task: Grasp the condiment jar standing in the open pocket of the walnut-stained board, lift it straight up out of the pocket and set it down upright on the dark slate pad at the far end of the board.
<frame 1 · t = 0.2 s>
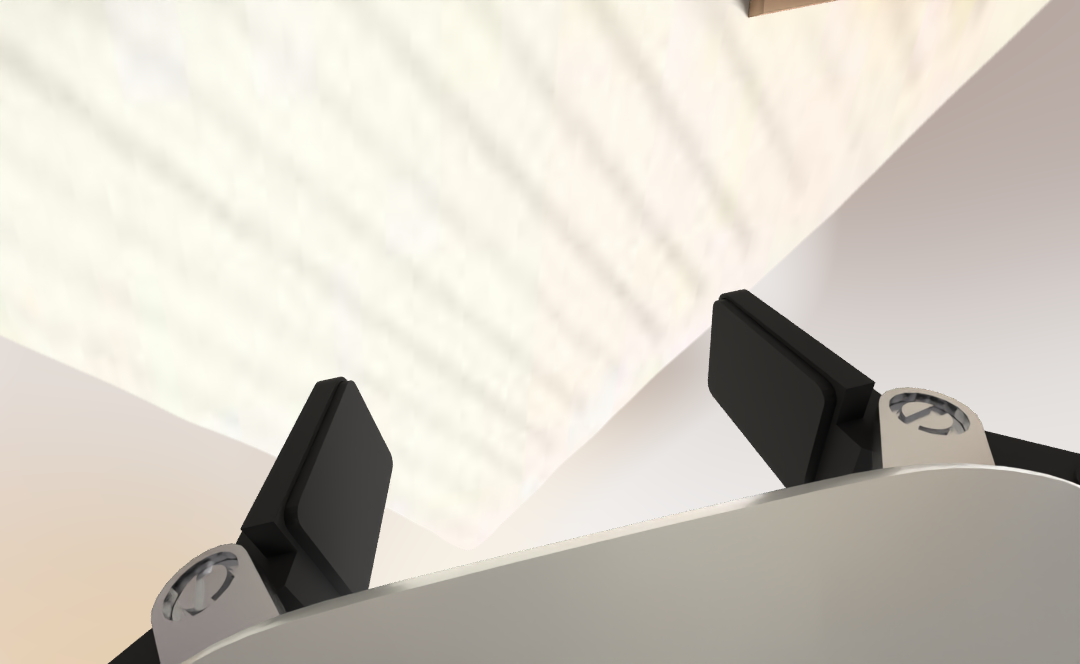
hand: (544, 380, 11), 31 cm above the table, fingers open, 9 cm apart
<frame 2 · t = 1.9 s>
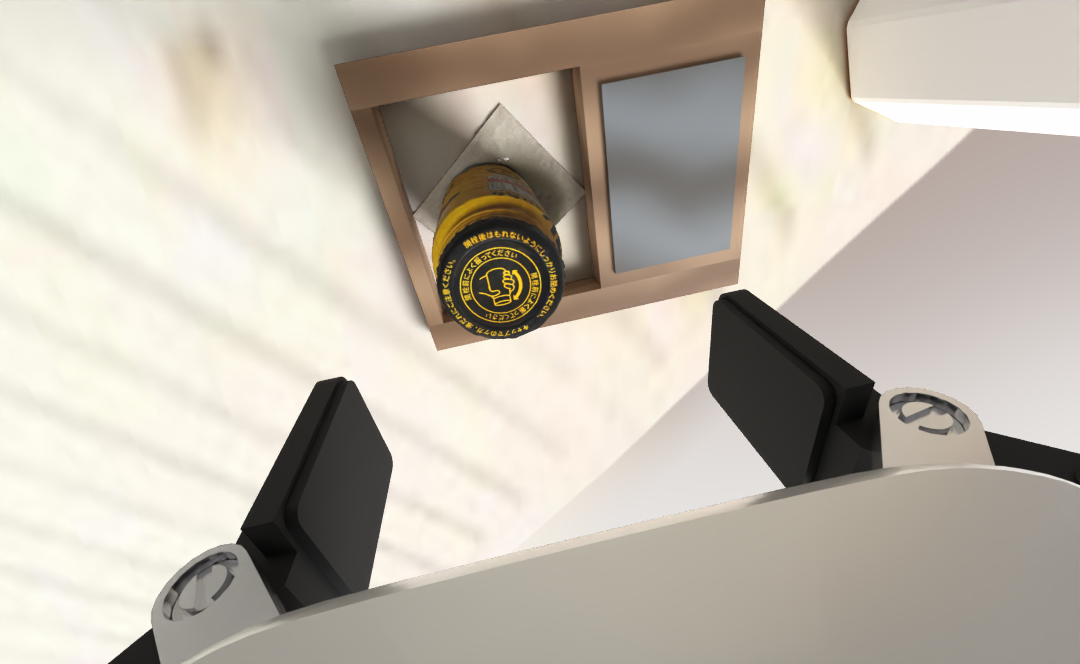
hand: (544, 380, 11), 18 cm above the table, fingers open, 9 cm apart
cup: (926, 18, 25), on the table
condiment: (500, 202, 27), resting in pocket board
pocket board: (568, 189, 27), on the table
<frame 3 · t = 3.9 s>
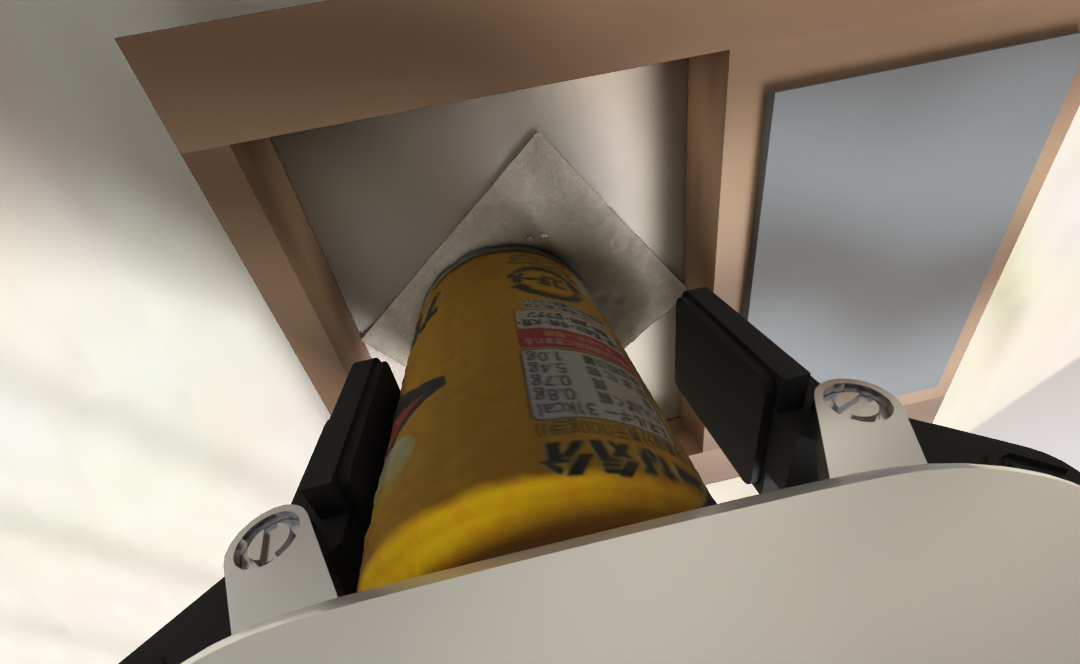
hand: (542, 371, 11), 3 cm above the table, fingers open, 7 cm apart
condiment: (528, 308, 14), resting in pocket board, touching gripper
pocket board: (655, 285, 14), on the table
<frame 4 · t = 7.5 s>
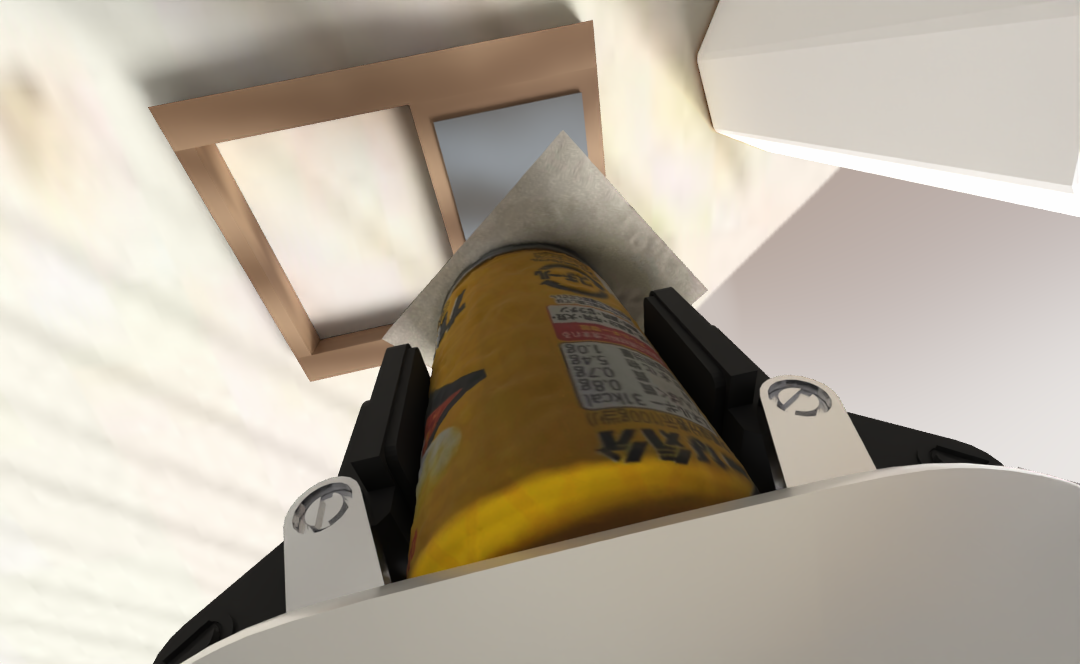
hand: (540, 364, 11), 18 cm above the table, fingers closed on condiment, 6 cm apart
cup: (783, 49, 25), on the table
condiment: (547, 307, 14), point 14 cm above the table, touching gripper
pocket board: (431, 221, 26), on the table
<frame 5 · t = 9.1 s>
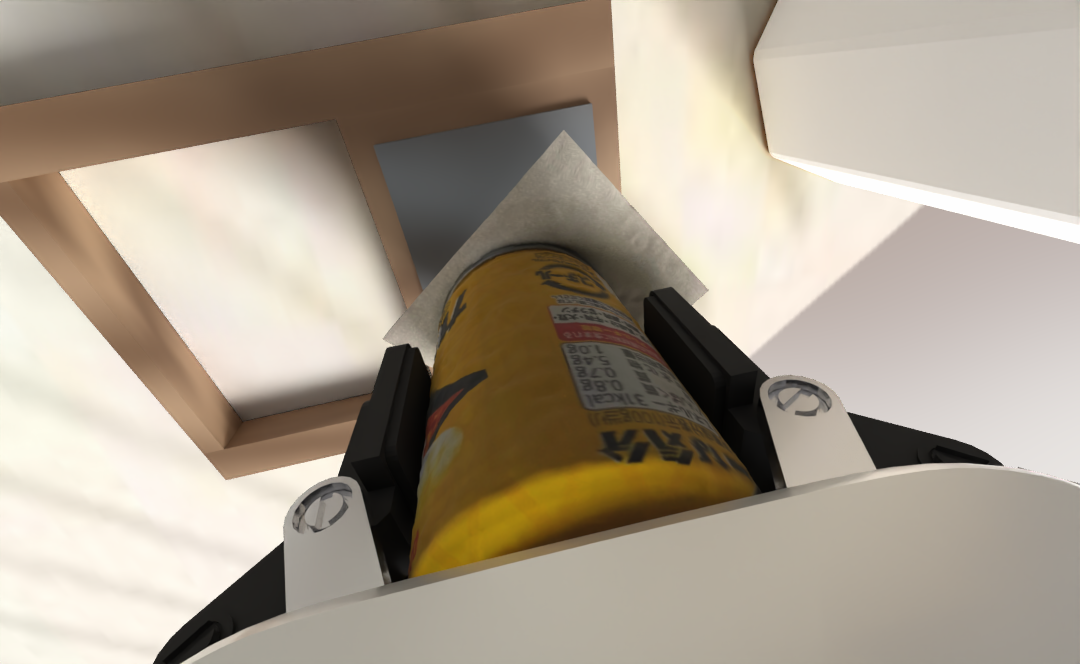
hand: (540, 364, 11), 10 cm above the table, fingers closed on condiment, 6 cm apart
cup: (869, 45, 18), on the table
condiment: (548, 307, 14), point 6 cm above the table, touching gripper
pocket board: (383, 273, 19), on the table
when the fingers open (7 cm above the table, at t = 10.6 s): condiment drops 1 cm, resting on pocket board.
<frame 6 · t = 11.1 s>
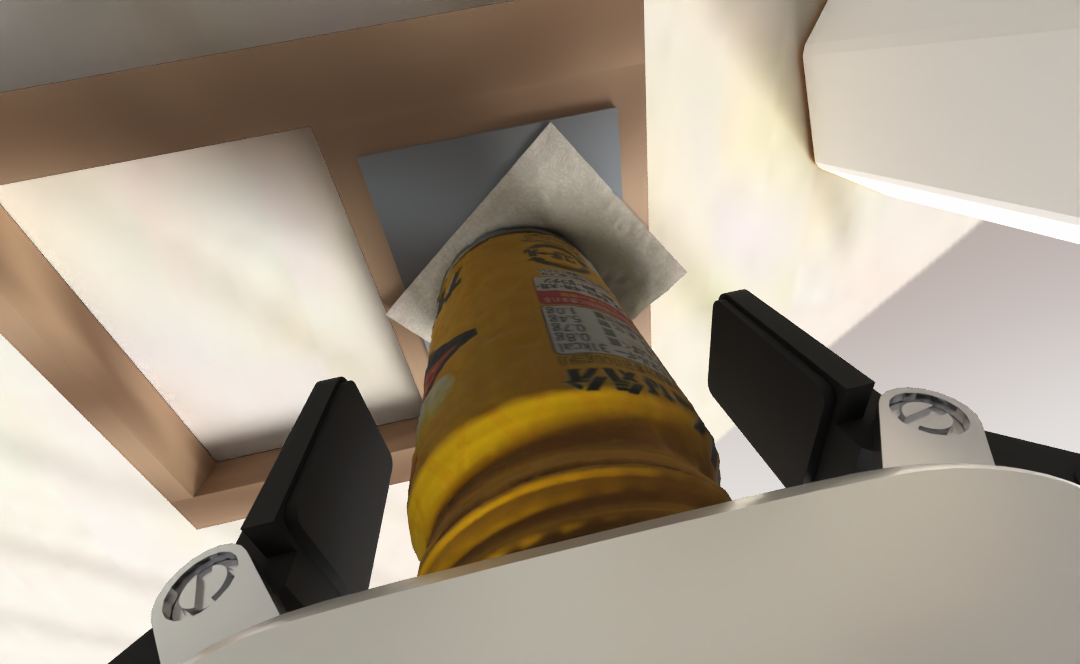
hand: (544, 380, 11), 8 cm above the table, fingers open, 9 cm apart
cup: (935, 38, 15), on the table
condiment: (538, 287, 15), point 2 cm above the table, touching pocket board
pocket board: (373, 300, 17), on the table
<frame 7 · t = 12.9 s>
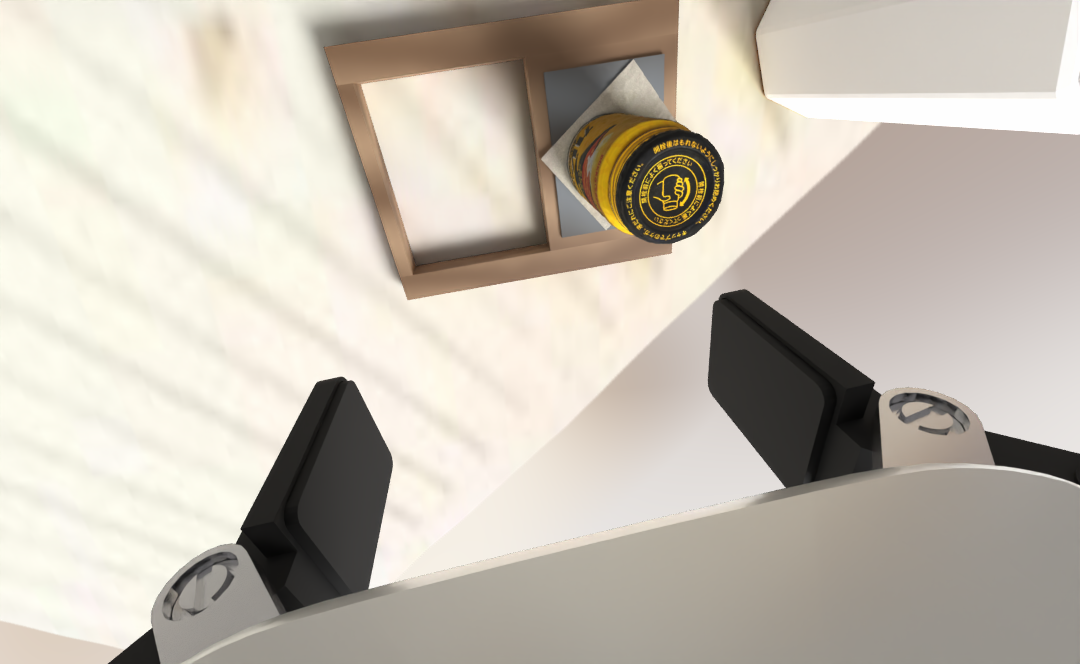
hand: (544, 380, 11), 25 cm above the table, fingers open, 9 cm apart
cup: (826, 29, 30), on the table
condiment: (616, 151, 30), point 2 cm above the table, touching pocket board
pocket board: (523, 163, 31), on the table
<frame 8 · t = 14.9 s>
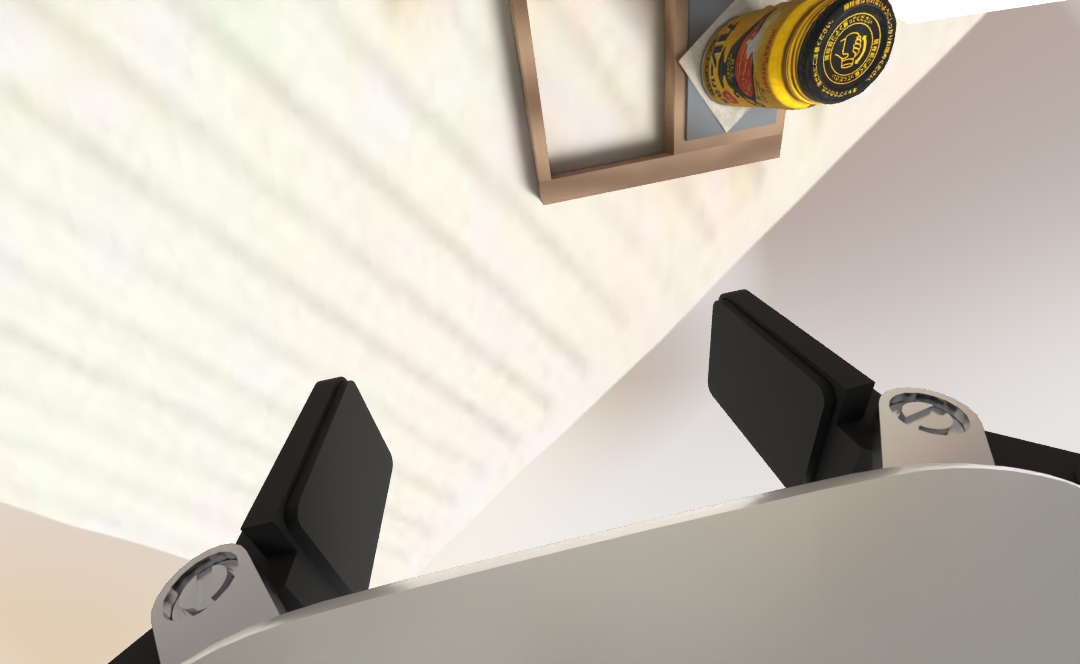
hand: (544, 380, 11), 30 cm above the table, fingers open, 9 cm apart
condiment: (743, 54, 33), point 2 cm above the table, touching pocket board
pocket board: (653, 71, 34), on the table
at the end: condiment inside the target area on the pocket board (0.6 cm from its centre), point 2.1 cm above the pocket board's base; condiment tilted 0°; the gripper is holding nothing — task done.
